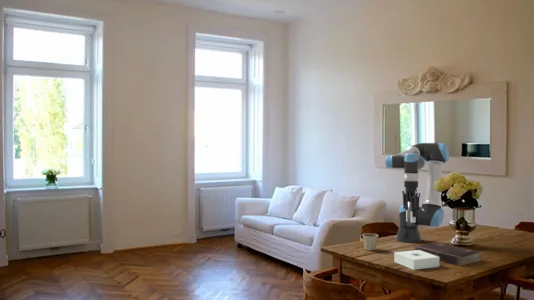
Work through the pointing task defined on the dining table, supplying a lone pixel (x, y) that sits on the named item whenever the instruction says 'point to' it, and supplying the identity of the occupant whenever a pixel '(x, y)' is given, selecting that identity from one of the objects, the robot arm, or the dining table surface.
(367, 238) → the flower pot
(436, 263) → the bore block
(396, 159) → the robot arm
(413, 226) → the pin
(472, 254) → the hardback book
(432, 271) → the dining table surface
